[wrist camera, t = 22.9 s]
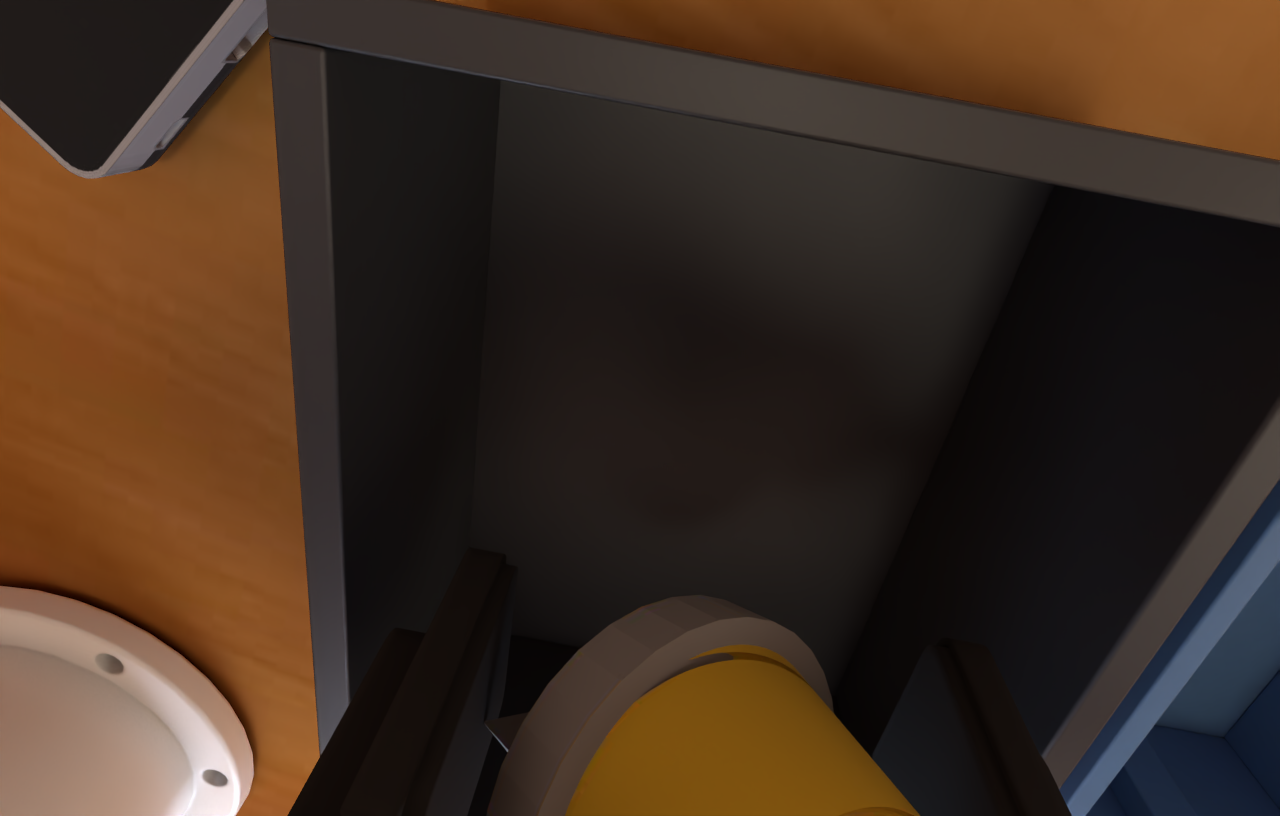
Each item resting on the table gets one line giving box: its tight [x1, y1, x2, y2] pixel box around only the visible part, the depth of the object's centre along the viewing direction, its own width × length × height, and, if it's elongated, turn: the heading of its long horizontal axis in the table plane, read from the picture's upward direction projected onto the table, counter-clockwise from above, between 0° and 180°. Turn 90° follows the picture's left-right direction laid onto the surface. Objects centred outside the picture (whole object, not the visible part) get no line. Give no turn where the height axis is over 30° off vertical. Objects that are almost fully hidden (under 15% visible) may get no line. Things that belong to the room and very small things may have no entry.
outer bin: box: [266, 0, 1280, 816], centre depth 14 cm, size 16×12×8 cm
